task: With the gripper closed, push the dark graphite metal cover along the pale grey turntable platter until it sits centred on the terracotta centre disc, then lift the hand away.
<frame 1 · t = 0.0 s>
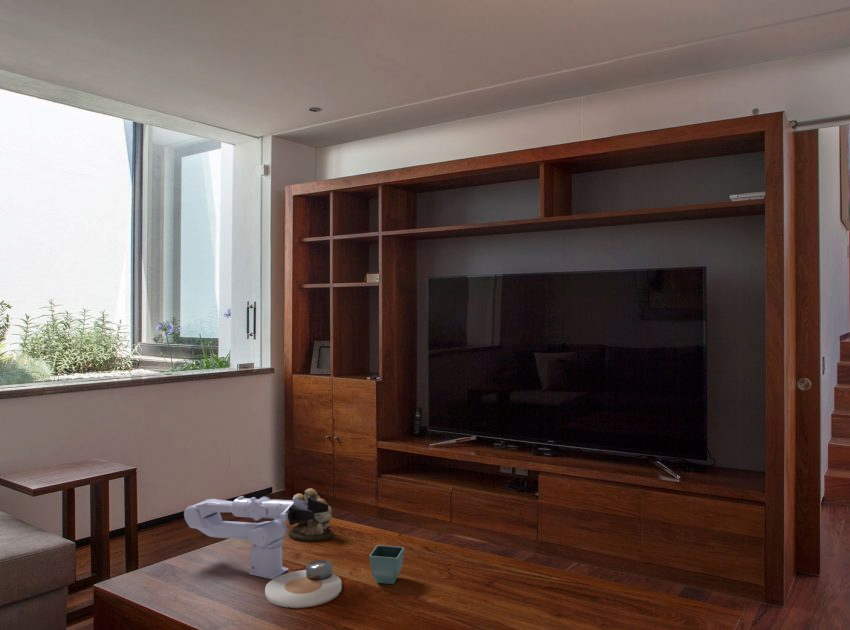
hand: (320, 511, 198), 22 cm above the table, tool horizontal, fingers open, 7 cm apart
cast cover: (319, 574, 201), point 2 cm above the table, touching turntable
flower pot: (387, 581, 200), on the table
owl figurine: (310, 536, 239), on the table
turntable: (303, 590, 194), on the table
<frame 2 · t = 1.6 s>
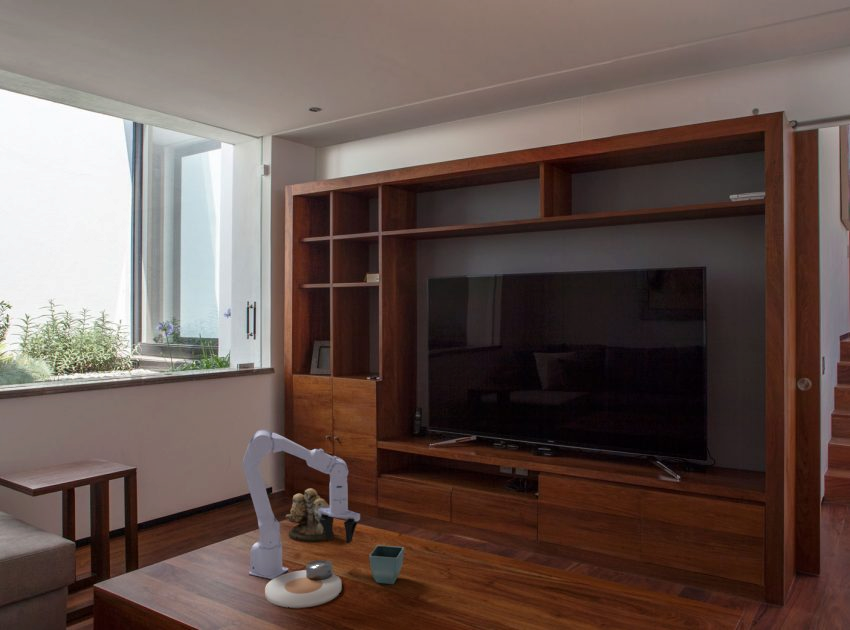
hand: (339, 540, 211), 8 cm above the table, tool pointing down, fingers open, 7 cm apart
nothing on the table moved.
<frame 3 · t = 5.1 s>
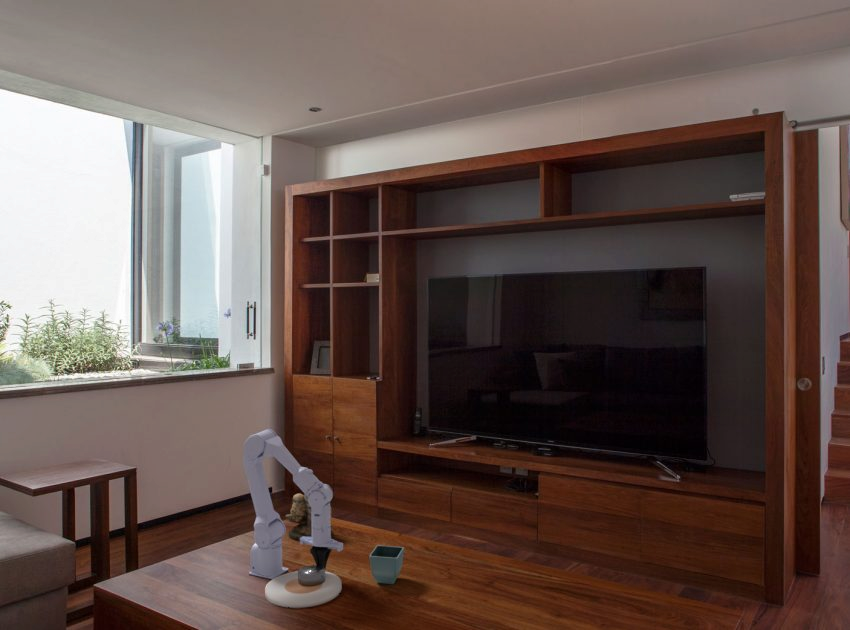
hand: (321, 570, 202), 2 cm above the table, tool pointing down, fingers closed
cast cover: (311, 580, 197), point 2 cm above the table, touching gripper, turntable
everything else where it was.
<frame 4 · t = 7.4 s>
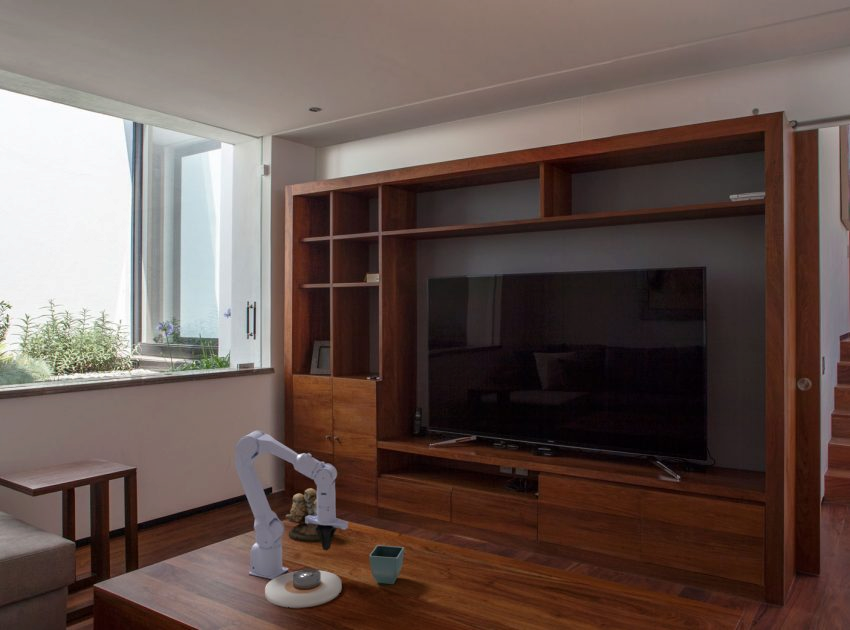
hand: (326, 548, 204), 8 cm above the table, tool pointing down, fingers closed
cast cover: (306, 584, 194), point 1 cm above the table, touching turntable
everything else where it was.
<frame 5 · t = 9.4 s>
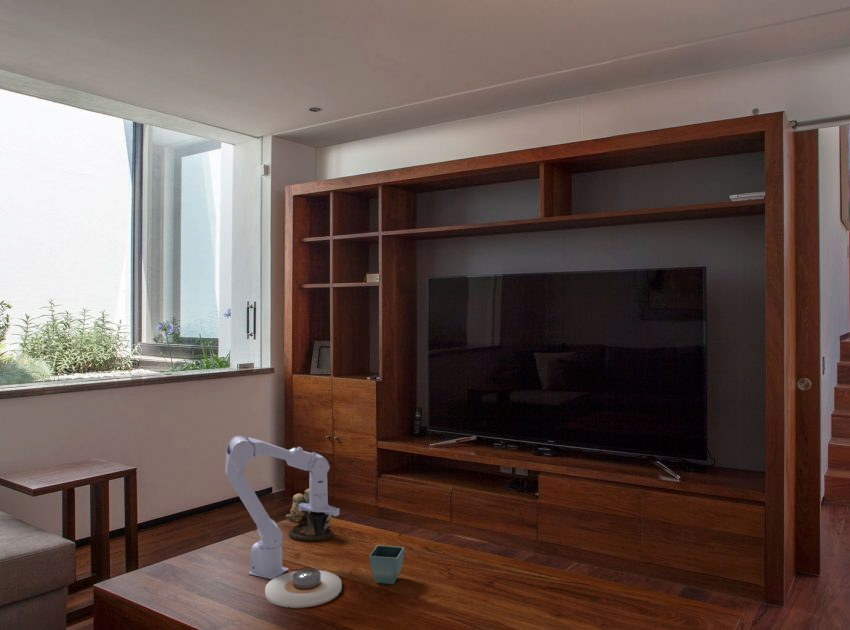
hand: (319, 535, 213), 9 cm above the table, tool pointing down, fingers closed
nothing on the table moved.
at the end: cast cover 1.0 cm from the turntable (horizontally); cast cover tilted 0°; the gripper is holding nothing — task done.
